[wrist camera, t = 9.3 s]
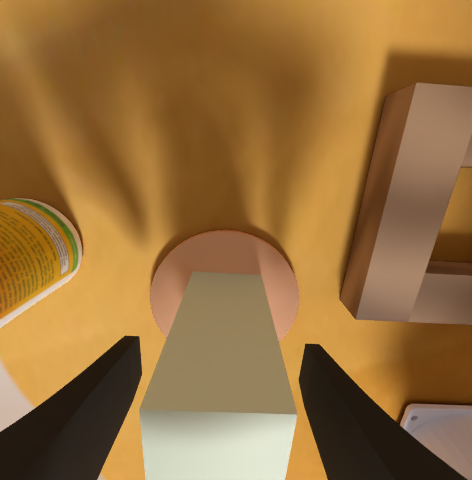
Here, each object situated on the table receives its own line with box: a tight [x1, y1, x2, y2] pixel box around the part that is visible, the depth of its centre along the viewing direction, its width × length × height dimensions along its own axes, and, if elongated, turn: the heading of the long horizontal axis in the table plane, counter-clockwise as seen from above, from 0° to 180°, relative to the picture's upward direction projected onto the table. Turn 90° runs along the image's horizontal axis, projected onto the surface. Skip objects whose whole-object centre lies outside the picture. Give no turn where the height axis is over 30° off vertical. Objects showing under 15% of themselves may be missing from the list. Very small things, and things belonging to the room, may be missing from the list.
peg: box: [139, 272, 297, 480], centre depth 10 cm, size 4×4×8 cm
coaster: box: [150, 230, 299, 342], centre depth 14 cm, size 9×9×1 cm
